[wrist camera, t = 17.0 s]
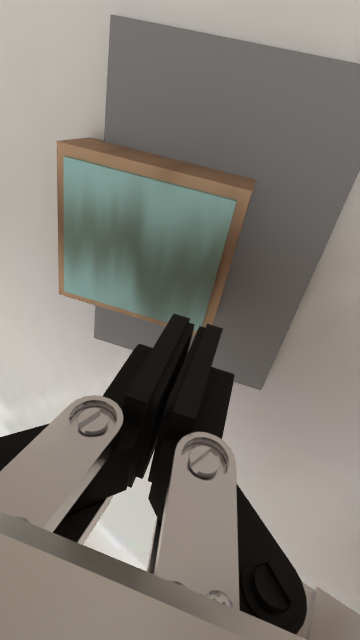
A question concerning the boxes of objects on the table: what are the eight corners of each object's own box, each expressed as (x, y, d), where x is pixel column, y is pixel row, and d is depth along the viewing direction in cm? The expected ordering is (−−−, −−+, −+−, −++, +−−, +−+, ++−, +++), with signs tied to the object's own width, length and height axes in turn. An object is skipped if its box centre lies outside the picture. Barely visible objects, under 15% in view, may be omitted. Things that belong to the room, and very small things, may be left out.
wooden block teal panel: (206, 342, 18) (56, 296, 19) (216, 313, 21) (83, 273, 22) (251, 192, 14) (52, 141, 15) (256, 180, 17) (88, 137, 18)
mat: (261, 385, 24) (260, 390, 23) (97, 334, 25) (94, 337, 25) (399, 74, 14) (402, 72, 13) (115, 17, 15) (110, 14, 15)
